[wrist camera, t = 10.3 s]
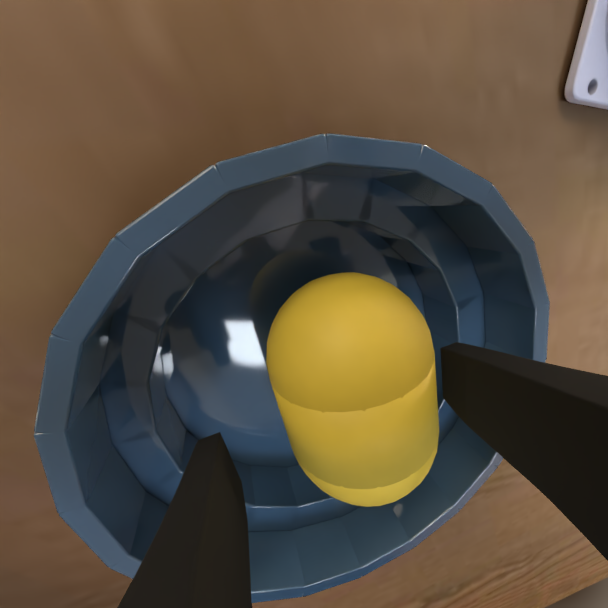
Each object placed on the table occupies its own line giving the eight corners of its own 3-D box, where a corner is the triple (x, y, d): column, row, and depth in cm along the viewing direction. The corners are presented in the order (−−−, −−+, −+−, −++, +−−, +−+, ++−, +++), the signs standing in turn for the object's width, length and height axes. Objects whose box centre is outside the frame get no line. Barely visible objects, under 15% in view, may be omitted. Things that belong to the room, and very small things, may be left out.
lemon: (339, 248, 12) (471, 256, 8) (366, 402, 15) (472, 469, 11) (219, 295, 9) (315, 345, 5) (281, 468, 12) (373, 589, 8)
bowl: (480, 178, 12) (611, 164, 8) (423, 454, 17) (490, 534, 13) (67, 145, 8) (-77, 85, 4) (139, 519, 13) (103, 665, 9)
